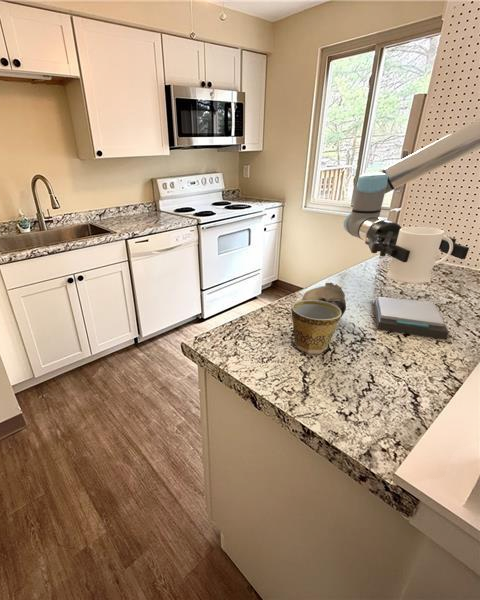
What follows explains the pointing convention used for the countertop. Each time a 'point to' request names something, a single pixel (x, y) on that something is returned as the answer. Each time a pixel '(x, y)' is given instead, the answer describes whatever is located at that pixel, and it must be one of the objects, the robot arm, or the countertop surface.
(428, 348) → the countertop surface
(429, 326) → the scale
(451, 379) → the countertop surface
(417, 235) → the mug
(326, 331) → the ceramic cup
